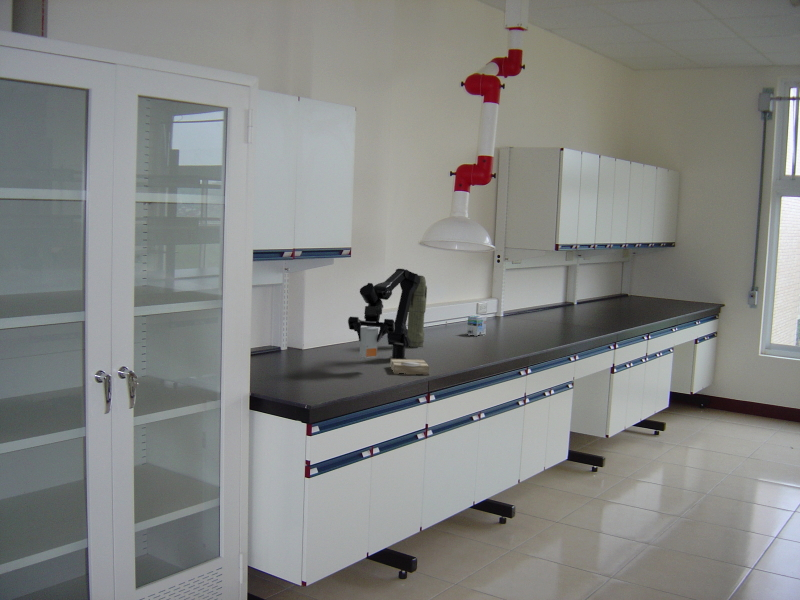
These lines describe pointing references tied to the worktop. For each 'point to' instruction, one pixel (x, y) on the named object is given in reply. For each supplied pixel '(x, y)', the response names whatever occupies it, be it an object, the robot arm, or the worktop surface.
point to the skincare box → (368, 342)
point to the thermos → (417, 314)
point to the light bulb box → (476, 325)
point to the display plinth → (409, 366)
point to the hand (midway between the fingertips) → (368, 341)
